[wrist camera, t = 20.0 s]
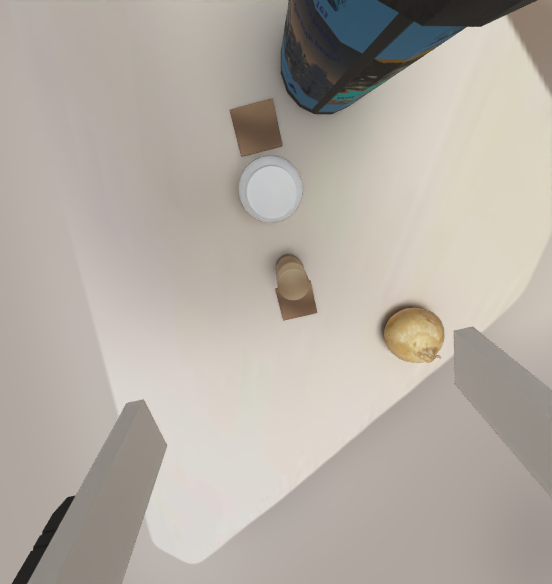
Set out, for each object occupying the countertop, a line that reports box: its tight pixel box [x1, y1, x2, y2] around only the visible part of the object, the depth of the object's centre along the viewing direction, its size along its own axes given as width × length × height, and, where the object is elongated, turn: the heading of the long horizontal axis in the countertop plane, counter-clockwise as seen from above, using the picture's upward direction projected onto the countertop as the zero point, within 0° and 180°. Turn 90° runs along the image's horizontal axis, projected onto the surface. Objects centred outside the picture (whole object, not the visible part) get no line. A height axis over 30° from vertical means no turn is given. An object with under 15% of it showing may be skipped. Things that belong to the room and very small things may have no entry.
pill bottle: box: [239, 156, 303, 223], centre depth 34 cm, size 6×6×12 cm
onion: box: [384, 308, 444, 363], centre depth 45 cm, size 8×8×7 cm
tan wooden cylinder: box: [276, 254, 310, 300], centre depth 40 cm, size 4×4×8 cm
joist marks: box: [230, 98, 317, 321], centre depth 41 cm, size 28×5×1 cm, turn 14°
